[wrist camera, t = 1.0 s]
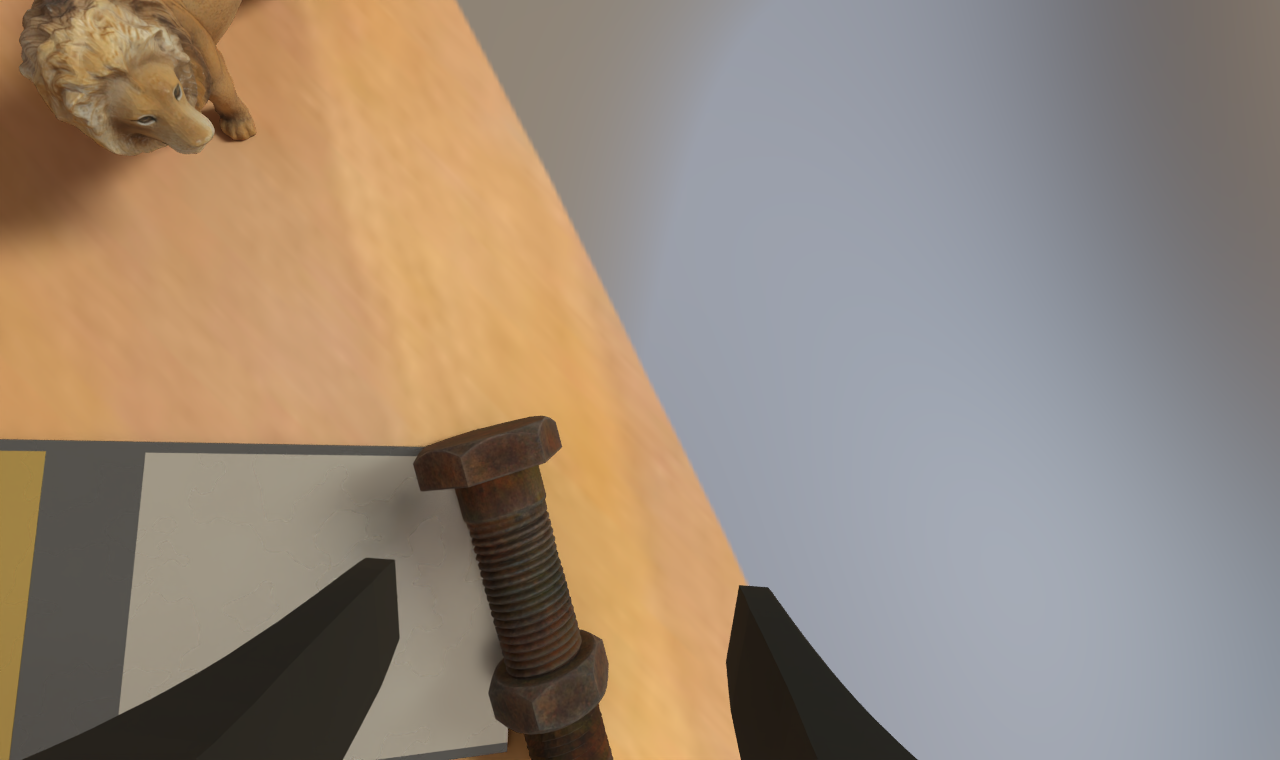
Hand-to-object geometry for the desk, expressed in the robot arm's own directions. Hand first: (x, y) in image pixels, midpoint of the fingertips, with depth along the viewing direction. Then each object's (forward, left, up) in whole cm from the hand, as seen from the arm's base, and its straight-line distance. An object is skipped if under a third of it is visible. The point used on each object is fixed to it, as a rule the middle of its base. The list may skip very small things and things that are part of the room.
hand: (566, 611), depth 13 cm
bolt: (-3, -1, -15) cm, 15 cm away
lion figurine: (+19, +11, -15) cm, 27 cm away
